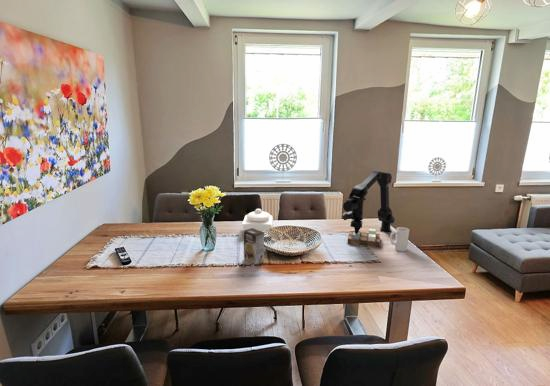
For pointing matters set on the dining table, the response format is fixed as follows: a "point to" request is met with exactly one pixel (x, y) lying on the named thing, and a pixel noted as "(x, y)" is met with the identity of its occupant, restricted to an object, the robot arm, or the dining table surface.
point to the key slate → (356, 236)
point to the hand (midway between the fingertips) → (356, 233)
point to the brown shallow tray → (364, 240)
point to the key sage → (372, 231)
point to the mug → (400, 238)
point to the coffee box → (253, 245)
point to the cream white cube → (371, 237)
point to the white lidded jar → (258, 221)
